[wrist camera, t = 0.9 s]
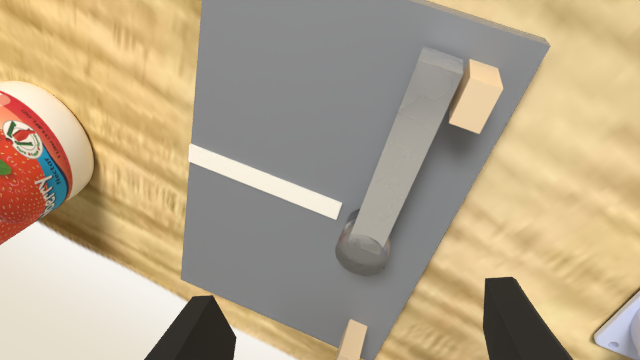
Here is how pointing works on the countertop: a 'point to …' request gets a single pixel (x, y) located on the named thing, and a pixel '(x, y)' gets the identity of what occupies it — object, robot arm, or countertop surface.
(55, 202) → the fruit juice
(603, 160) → the countertop surface
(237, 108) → the plate
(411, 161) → the lock bar
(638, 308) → the robot arm
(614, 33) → the countertop surface
